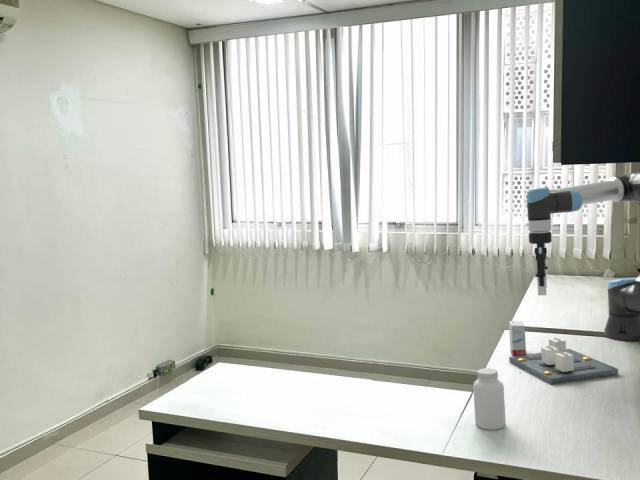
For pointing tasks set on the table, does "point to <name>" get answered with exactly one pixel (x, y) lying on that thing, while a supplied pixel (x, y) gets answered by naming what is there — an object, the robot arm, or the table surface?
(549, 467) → the table surface
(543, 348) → the slider
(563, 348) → the slider
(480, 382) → the pill bottle
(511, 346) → the ink box
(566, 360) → the slider
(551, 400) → the table surface
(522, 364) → the switch unit
